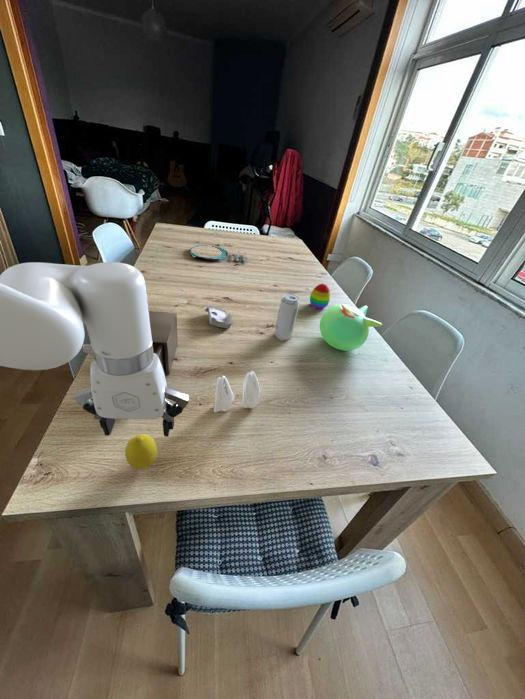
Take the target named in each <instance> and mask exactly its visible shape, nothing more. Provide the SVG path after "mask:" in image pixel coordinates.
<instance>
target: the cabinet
mask: <svg viewBox="0 0 525 699" xmlns="http://www.w3.org/2000/svg"><path fill="white" fill-rule="evenodd" d="M148 311H149V319H150V328H151V336H152V344H158V345H164V350H165V364H166V365H165V369H164V375H168V376H169V375H170V373H171V369H172V366H173V361H174V358H175V354H176V351H177V348H178V342H179V340H178V316H177V315H178V314H177V312H170V311H169V312H167V311H156V310H148Z"/></svg>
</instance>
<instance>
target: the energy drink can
mask: <svg viewBox="0 0 525 699" xmlns="http://www.w3.org/2000/svg"><path fill="white" fill-rule="evenodd" d="M299 300H300V299H299V297H298V296H297V295H296V294H294V293H293V294H292V293H285V294H284V295H283V297H282V298H281V299H280V303H279V309H278V313H277V318H276V323H275V327H274V328H275V329H274V335H275V337H276V338H277V339H278V340H280V341H288V340H289V339H291V338H292V336H293V332H294V328H295V324H296V319H297V315H298V311H299V307H300V301H299Z"/></svg>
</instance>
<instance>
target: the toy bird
mask: <svg viewBox="0 0 525 699" xmlns="http://www.w3.org/2000/svg"><path fill="white" fill-rule="evenodd" d="M367 313H368V306H367V305H363V306H361V307H360V308H357V307H355V306H352V305H350V304H344V303H341V304H340V303H339V304H334V305H332V306H330V307H329V308H327V309H326V310H325V311H324V312H323V314H322V316H321V318H320V322H319V331H320V334H321V337H322V338H323V340H324V341H325V342H326V343H327V344H328V345H329V346H331V347H332V348H334V349H336V350H339V351H344V352H345V351H348V352H349V351H353V350H357V349H358V348H360V347H361V346H363V345H364V344H365V342H366V341H367V339H368V337H369V333H370V328H371V327H377V328H378V327H382V326H383V324H382V322H379V321H377V320H374V319H372V318H368V317H366V315H367Z"/></svg>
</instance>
